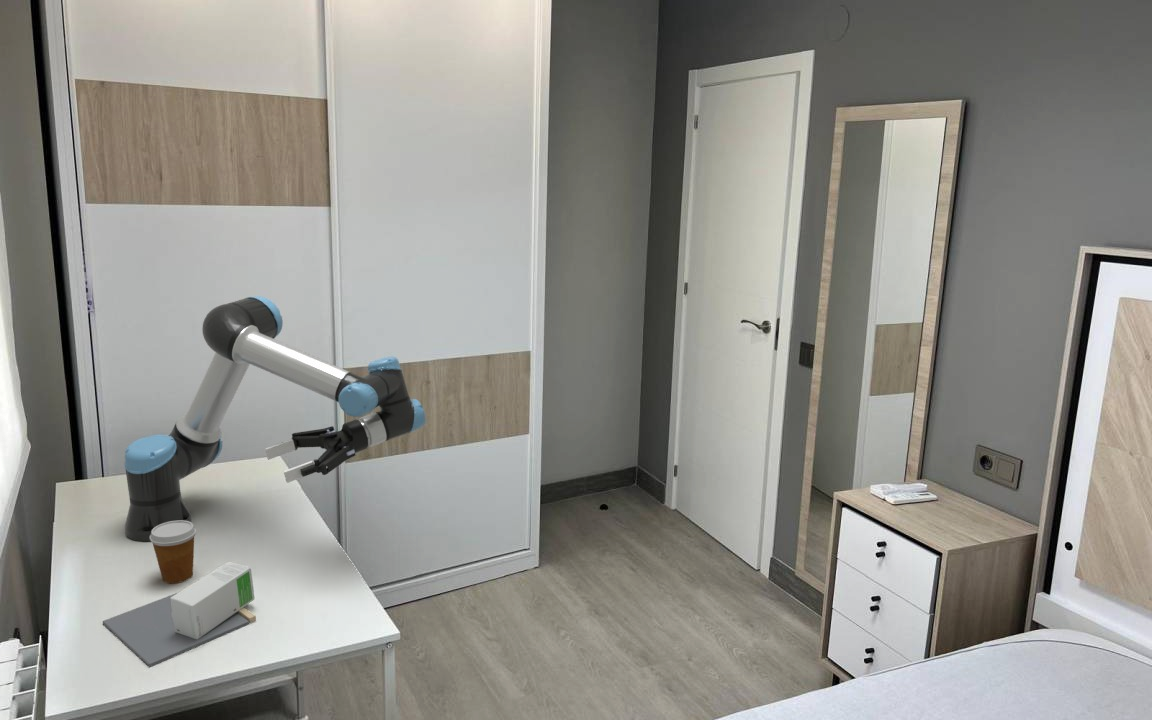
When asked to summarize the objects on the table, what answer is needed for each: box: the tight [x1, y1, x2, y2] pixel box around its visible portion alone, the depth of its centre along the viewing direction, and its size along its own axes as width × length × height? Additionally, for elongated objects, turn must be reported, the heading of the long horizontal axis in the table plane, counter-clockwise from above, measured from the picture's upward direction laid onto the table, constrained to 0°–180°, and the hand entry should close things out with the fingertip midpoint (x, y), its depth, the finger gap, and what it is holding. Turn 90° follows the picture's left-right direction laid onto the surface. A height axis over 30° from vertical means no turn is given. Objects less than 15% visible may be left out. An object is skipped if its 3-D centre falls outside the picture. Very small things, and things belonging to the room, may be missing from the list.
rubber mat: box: [102, 591, 257, 668], centre depth 172 cm, size 22×22×1 cm
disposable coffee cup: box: [150, 520, 197, 584], centre depth 189 cm, size 10×10×12 cm
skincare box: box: [170, 560, 255, 640], centre depth 172 cm, size 8×7×16 cm
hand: (275, 465), depth 190 cm, fingers open, 13 cm apart
